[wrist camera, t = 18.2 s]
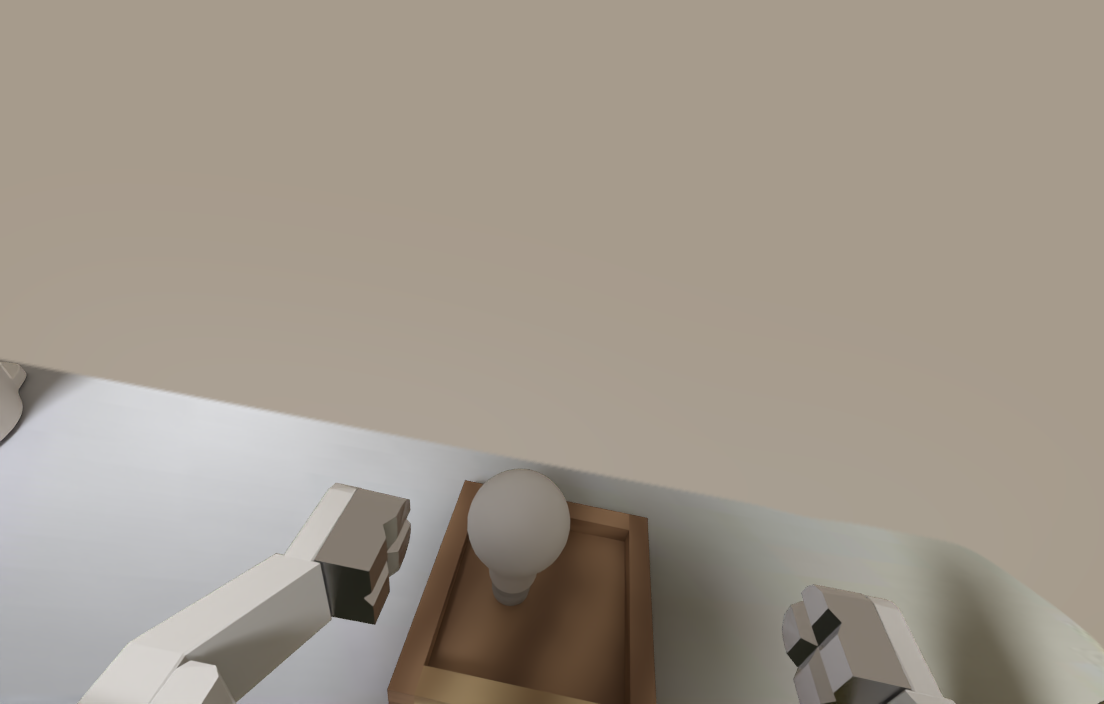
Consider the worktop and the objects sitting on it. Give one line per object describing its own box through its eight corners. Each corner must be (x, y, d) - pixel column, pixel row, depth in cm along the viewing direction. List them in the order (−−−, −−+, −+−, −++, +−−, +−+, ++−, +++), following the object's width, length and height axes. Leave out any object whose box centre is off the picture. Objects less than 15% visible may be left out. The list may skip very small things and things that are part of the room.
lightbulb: (533, 543, 36) (550, 438, 30) (568, 619, 32) (596, 514, 26) (454, 570, 34) (455, 460, 28) (480, 656, 29) (488, 549, 23)
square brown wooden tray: (389, 708, 27) (387, 689, 26) (463, 500, 40) (465, 480, 38) (646, 765, 27) (658, 749, 25) (639, 536, 39) (647, 517, 38)
